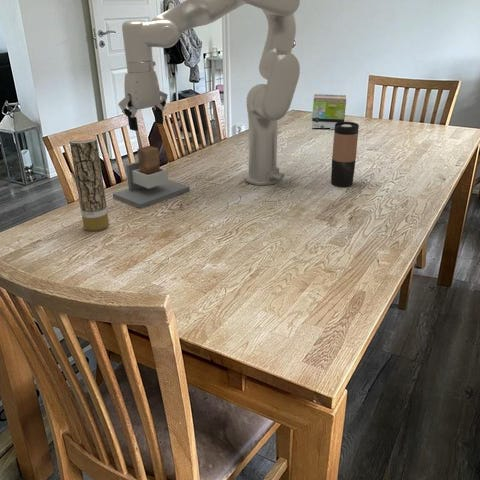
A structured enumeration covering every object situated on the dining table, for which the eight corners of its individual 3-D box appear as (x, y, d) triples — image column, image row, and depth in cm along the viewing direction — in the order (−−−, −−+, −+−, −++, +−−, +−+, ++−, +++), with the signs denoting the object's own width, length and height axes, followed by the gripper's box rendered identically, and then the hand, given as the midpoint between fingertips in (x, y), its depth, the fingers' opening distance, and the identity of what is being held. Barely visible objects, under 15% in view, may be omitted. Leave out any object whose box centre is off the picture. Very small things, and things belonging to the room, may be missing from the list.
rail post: (160, 179, 157) (158, 148, 152) (149, 182, 154) (146, 151, 149) (151, 176, 159) (148, 145, 155) (140, 179, 156) (137, 148, 152)
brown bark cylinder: (102, 232, 133) (89, 141, 122) (79, 231, 134) (63, 140, 123) (113, 222, 139) (101, 134, 128) (90, 220, 140) (77, 133, 129)
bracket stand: (189, 190, 161) (187, 161, 157) (140, 208, 148) (137, 177, 143) (161, 181, 170) (159, 153, 165) (113, 197, 156) (109, 167, 152)
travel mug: (355, 181, 168) (361, 122, 159) (350, 189, 161) (356, 128, 152) (333, 178, 170) (338, 120, 162) (327, 185, 164) (331, 125, 155)
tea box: (311, 129, 233) (313, 97, 227) (312, 124, 242) (313, 93, 236) (343, 130, 231) (346, 98, 225) (343, 125, 240) (345, 94, 233)
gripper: (155, 63, 149) (161, 119, 157) (107, 70, 138) (115, 130, 146) (171, 64, 145) (176, 123, 153) (123, 72, 134) (131, 134, 141)
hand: (146, 126), depth 149 cm, fingers open, 9 cm apart
